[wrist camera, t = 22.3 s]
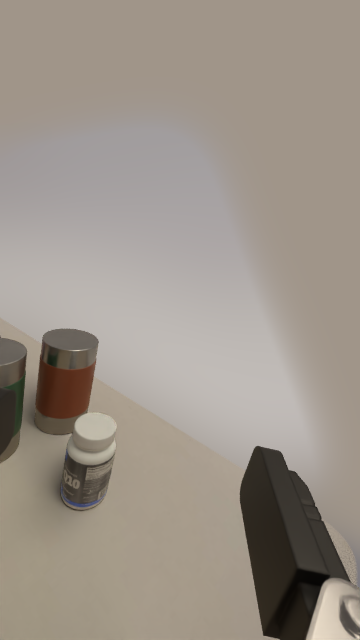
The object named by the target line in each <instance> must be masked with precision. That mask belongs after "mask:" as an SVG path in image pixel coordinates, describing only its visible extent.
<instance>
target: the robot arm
mask: <svg viewBox="0 0 360 640" xmlns="http://www.w3.org/2000/svg"><path fill="white" fill-rule="evenodd" d="M16 399H17V395H16V392H15V391H14V390H10V389H6V388H1V387H0V456H1V454H2V453H3V452H4V451H5V450H6V448H7V447H8V445H9V443H10V442H11V439H12V437H13V434H14V428H15V414H16ZM240 504H241V510H242V515H243V521H244V527H245V533H246V538H247V544H248V550H249V556H250V561H251V567H252V573H253V579H254V585H255V590H256V596H257V602H258V608H259V613H260V619H261V625H262V631H263V636H268V637H273V638H278V639H280V640H360V588H359V587H357V586H356V585H354V584H352V583H351V582H350V580H349V577H348V575H347V573H346V571H345V569H344V566H343V564H342V562H341V560H340V557H339V555H338V553H337V551H336V549H335V546H334V544H333V542H332V540H331V537H330V535H329V533H328V531H327V529H326V526H325V524H324V522H323V521H322V520H321V515H320V513H319V511H318V509H317V507H315V503H314V500H313V498H312V496H311V493H310V491H309V489H308V487H307V485H306V484H305V483H304V482H303V481H302V480H301V478H300V477H299V476H298V475H297V473H296V472H294V471H290V470H288V467H287V465H286V462H285V460H284V457H283V455H282V453H281V452H280V451H277V450H273V449H268V448H264V447H260V446H256V447H255V449H254V451H253V453H252V456H251V458H250V461H249V464H248V466H247V469H246V472H245V474H244V477H243V480H242V483H241V488H240Z"/></svg>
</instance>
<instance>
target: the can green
mask: <svg viewBox="0 0 360 640" xmlns="http://www.w3.org/2000/svg"><path fill="white" fill-rule="evenodd" d="M26 356H27V349H26V347H25V346H24V345H23V344H21V343H19V342H17V341H14V340H10V339H5V338H0V387H1V388H6V389H10V390H14V391H15V392H16V395H17V399H16V414H15V428H14V434H13V437H12V439H11V442H10V443H9V445H8V447H7V448H6V450H5V451H4V452H3V453H2V454H1V456H0V463H1V462H2V461H4V460H6V459H7V458H9V457H10V456H11V455H12V454H13V453H14V452H15V451H16V449H17V447H18V445H19V438H20V427H21V421H22V410H23V398H24V386H25V375H26V370H25V368H26Z"/></svg>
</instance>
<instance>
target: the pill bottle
mask: <svg viewBox="0 0 360 640" xmlns="http://www.w3.org/2000/svg"><path fill="white" fill-rule="evenodd" d="M115 433H116V423H115V421H114V420H113V419H112V418H111V417H110V416H108V415H106V414H103V413H97V412H92V413H87V414H84V415H82V416H80V417H79V418H78V419H77V420H76V422H75V424H74V429H73V433H72V436H71V437H70V439H69V441H68V444H67V449H66V456H65V463H64V470H63V476H62V482H61V497H62V499H63V501H64V502H65V504H66V505H67V506H69V507H71V508H73V509H77V510H85V509H89V508H92V507H94V506H96V505H98V504H99V503H100V502H101V501H102V500H103V499H104V497H105V495H106V492H107V489H108V484H109V479H110V475H111V469H112V465H113V460H114V456H115V451H116V441H115Z"/></svg>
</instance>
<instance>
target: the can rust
mask: <svg viewBox="0 0 360 640" xmlns="http://www.w3.org/2000/svg"><path fill="white" fill-rule="evenodd" d="M98 343H99V341H98V339H97V338H96V337H95V336H94V335H92V334H90V333H88V332H85V331H81V330H76V329H56V330H52V331H49V332H47V333H45V334H44V335H43V339H42V349H41V355H40V363H39V373H38V383H37V393H36V403H35V405H36V408H35V418H34V422H35V425H36V426H37V427H38V428H39V429H40V430H41V431H43V432H45V433H48V434H54V435H63V434H68V433H72V432H73V429H74V424H75V422H76V420H77V419H78V418H79V417H80V416H82V415H84V414H87V410H88V406H89V401H90V395H91V389H92V383H93V377H94V370H95V364H96V355H97V349H98Z"/></svg>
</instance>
